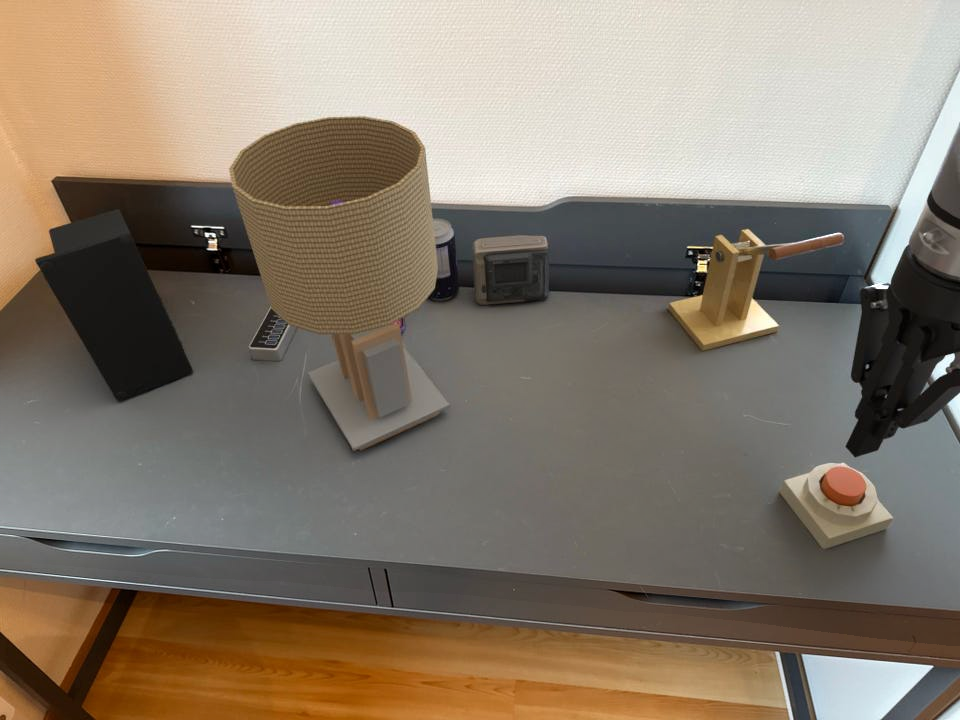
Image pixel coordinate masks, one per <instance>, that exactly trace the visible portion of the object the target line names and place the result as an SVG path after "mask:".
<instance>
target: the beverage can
mask: <svg viewBox="0 0 960 720" xmlns="http://www.w3.org/2000/svg"><path fill="white" fill-rule="evenodd" d="M433 226H434V236H435V245H436V254H437V263H438V272H437V278H436V284H435V289H434V290H433V292H432V293H431V294H430V295H429V296H428V298H431V299H432V300H435V301H446V300H449V299H451V298H452V297H454V295H456V294H457V293H458V292H459V290H460V282H459V280H460V279H459V269H458V258H457V247H456V234H455V231H454V229H453V228H452V225H451V223H450V221H448V220H446V219H443V218H433Z"/></svg>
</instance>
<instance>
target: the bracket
mask: <svg viewBox="0 0 960 720" xmlns="http://www.w3.org/2000/svg"><path fill="white" fill-rule="evenodd" d="M745 241H750V247H753V246H764V245H766V244H765V242H763V241H762V240H761V239H760V238H759V237H758V236H757V235H755V234H754V233H753V232H752V231H751V230H750V229H748V228H745V229H741V232H740V235H739V239H738V242H745ZM738 256H739V251H738V250H737V249H736V248H735V247H734V246H733V245H732V243H731V242H730V241H729V240H728V239H726V237H725V236H723V234H719V235H718V234H717V235H715V236H714V241H713V246H712V249H711V255H710V259H709V264H708V269H707V274H706V279H705V283H704V287H703V293H702V294H701V295H697V296H693V297H688V298H685V299H680V300H676V301H672V302H671V301H670V302H669V303H668V308H667V309H668V311H669V312H670V313H671V315H672V316H673V317H674V318H675V319H676V320H677V322H678V323H679V324H680V325H681V327H682V328H683V330H684V331H685V332H686V333H687V334H688V336H689V337H690V338H691V339H692V340H693V342H694V343H695V344H696V345H697V347H698V348H699V349H700V351H702V352H704V351H708V350H712V349H716V348H718V347H723V346H728V345H730V344H731V345H732V344H736V343H739V342H742V341H746V340H751V339H754V338H758V337H762V336H766V335H769V334H774V333H777V332H778V330H779V328H780V327H779V326H780V325H779V324H778V323H777V322H776V320H774V319H773V318H772V317H771V315H769V314H768V312H766V311H765V310H764V308H763V307H761V305H760V304H759V303H758V301H756V300H755V299H754V298H753V297H754V294H755V293H754V292H755V289H756V286H757V282H758V278H759V274H760V271H761V267H762V263H763V259H764V257H765V254H763V255H752V259H749V260H745V261H741V262H737V260H738Z"/></svg>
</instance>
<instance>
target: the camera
mask: <svg viewBox="0 0 960 720" xmlns="http://www.w3.org/2000/svg"><path fill="white" fill-rule="evenodd" d="M471 250H472V253H473V256H472V270H473V271H472V273H473V284H474V293H475V300H476V302H477V303H478V304H479V305H481V306H482V305H496V304H497V305H498V304H507V303H508V304H509V303H520V302H521V303H523V302H528V301H540V300H548V298H549V296H550V244H549V240H547V237H546V236H544V235H525V234H524V235H523V234H520V235H506V236H496V237H495V236H494V237H484V238H477V239H476V240H475V241H474V242H473V243H472V244H471Z"/></svg>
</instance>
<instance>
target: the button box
mask: <svg viewBox="0 0 960 720" xmlns="http://www.w3.org/2000/svg"><path fill="white" fill-rule="evenodd" d="M838 466H842V467H847V468H850V469H853V470H855V471H856V472H858V473H859V474H860V475H861V476H862V477H863V478H864V480H865V483H866V490H865V492H864V494H863V496H862V498H861V499H860V501H859V502H858V503H856V504H854V505H851V506H844V505H839V504H837V503H834V502H833V501H831V500H830V499H828V498H827V497H826V496H825V494H824V493H823V491H822V486H821V485H822V481H823V479H824V477H825V475H826V473H827V471H828V470H829V469H831V468H833V467H838ZM876 489H877V488H876V487H875V485H874V484H873V483H872V481H870V479H869V478H868V477H867V476H866V475H865V474H864V473H863V472H861V471H859V470H857V469H855V468H854V467H852V466H849V465H848V464H847V463H846V462H841V463H834V462H827V463H823V464H821V465H817V466H814V467H813V469H812V470H811V471H810V472H808V473H807V472H806V473H803V474H800V475H798V476H793V477H790V478H787V479H784V480H783V481H782V484H781V486H780V489H779V491H778V492H779V494H780V495H781V496H782V498H783V499H784V500H785V502H786V503H787V504H788V505H789V507H790V508H791V510H792V511H793V512H794V514H795V515H796V516H797V518H798V519H799V520H800V521H801V523H802V524H803V525H804V526H805V528H806V529H807V530H808V532H809V533H810V534H811V536H813V538H814V540H815V541H816V543H817V544H818V545H819V546H820V547H821V549H822V550H827V549H829V548H833V547H836V546H839V545H843V544H845V543H848V542H851V541H854V540H857V539H860V538H863V537H866V536H869V535H872V534H875V533H879V532H882V531H884V530H887V529H888V527H889V526H890V524H891V522H892V521H893V519H894V517H893V515H892V514H891V513H890V512H889V511H888V510H887V509H886V507H885V506H884V505H883V504H882V503H881V502H880V500H879V499H878V495H877V490H876Z"/></svg>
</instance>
